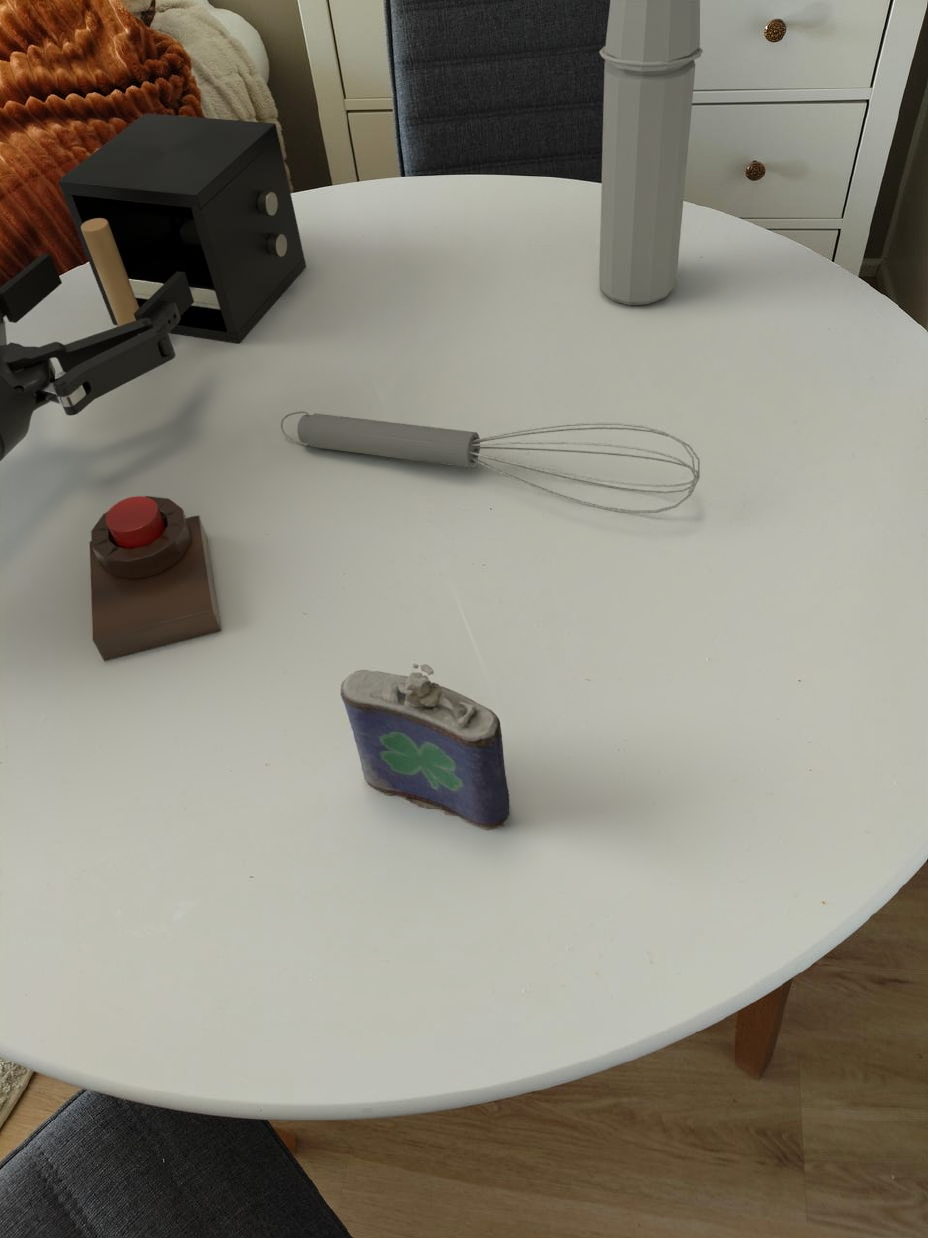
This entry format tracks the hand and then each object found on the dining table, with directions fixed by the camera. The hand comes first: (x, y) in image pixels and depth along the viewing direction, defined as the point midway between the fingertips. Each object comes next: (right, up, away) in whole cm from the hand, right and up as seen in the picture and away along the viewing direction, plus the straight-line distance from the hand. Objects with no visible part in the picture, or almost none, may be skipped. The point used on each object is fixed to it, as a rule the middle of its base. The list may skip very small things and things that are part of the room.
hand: (118, 276), depth 84 cm
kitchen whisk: (+31, -18, -8) cm, 37 cm away
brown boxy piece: (+8, -27, -14) cm, 32 cm away
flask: (+28, -39, -26) cm, 55 cm away
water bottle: (+46, +2, +9) cm, 47 cm away
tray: (+3, +2, +9) cm, 10 cm away
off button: (+7, -23, -14) cm, 28 cm away
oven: (+5, +3, +13) cm, 14 cm away
